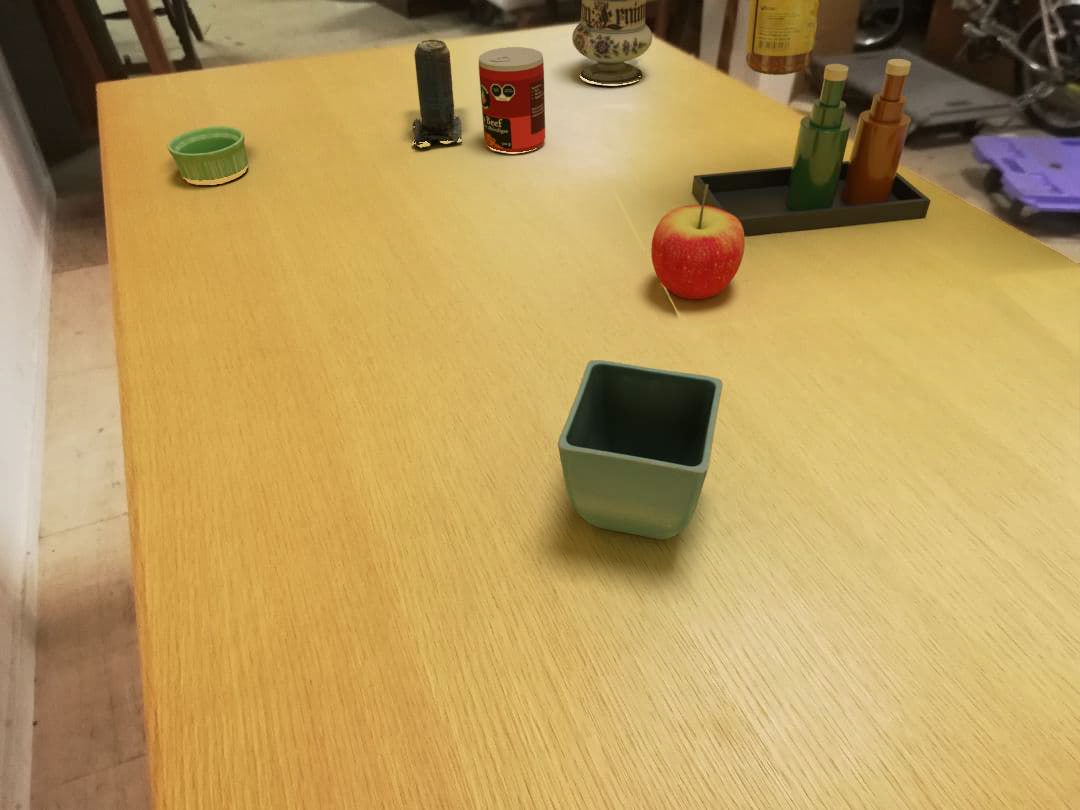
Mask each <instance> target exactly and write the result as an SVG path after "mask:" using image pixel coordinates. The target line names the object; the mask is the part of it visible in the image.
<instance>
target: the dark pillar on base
mask: <svg viewBox="0 0 1080 810" xmlns="http://www.w3.org/2000/svg"><path fill="white" fill-rule="evenodd" d="M414 65H415V73H416V74H415V75H416V83H417V84H416V85H417V93H418V94H417V95H418V102H419V103H418V104H419V112H420V113H419V115H420V118H421V119H420V118H417V117H416V118H415V119H414V121H413V122H412V127H413V126H415V129H414V139H413V140H415V141H414V143H415V142H416V145H415V144H414V145H413V146H416V147H417V145H420V144H423V143H419V142H425V141H427V142H428V143H430V142H431V141H434V140H437V139H439V140H438V144H439V143H440V141H447V140H448V141H453V143H456V142H455V141H458V139H459V138H460V139H462V136H461V135H462V120H461V116H460V115H459V114H458V115H457V116H456V115H455V101H454V90H453V75H452V63H451V51H450V50H449V47H448V46H447V44H446V42H444V41H443V40H438V39H437V40H436V39H426V40H425V39H424V40H422V41H421V43H417V44H416V47H415V49H414ZM460 129H461V131H460ZM430 139H432V140H430ZM430 144H431V145H432V142H431V143H430Z"/></svg>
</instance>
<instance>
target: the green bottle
mask: <svg viewBox="0 0 1080 810" xmlns="http://www.w3.org/2000/svg"><path fill="white" fill-rule="evenodd" d="M849 70H850V68H849V66H847V65H845V64H841V63H829V64H827V65H825V67H824V72H823V83H822V88H821V93H820V96H819V98H817V99H815V100H814V101H813V102H812V106H811V111H810V115H806V116H803V117H802V118H801V120H800V121H799V127H798V132H797V137H796V143H795V148H794V153H793V158H792V163H791V164H792V165H791V166H792V169H791V174H790V180H789V185H788V190H787V196H786V201H785V202H786V205H787V206H788V207H789V208H790V209H792V210H794V211H804V210H814V209H824V208H832V206H833V202H834V198H835V193H836V189H837V185H838V180H839V176H840V171H841V167H842V163H843V161H844V158H845V154H846V149H847V146H848V145H847V144H848V140H849V137H850V132H851V127H852V124H851V122H850V120H848V119H846V118H844V117H845V112H846V107H847V104H846V103H847V102H845V101H843V100H842V96H843V93H844V87H845V83H846V80H847V78H848V75H849Z"/></svg>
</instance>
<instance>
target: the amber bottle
mask: <svg viewBox="0 0 1080 810" xmlns="http://www.w3.org/2000/svg"><path fill="white" fill-rule="evenodd" d="M911 66H912V62H911V61H909V60H907V59H904V58H892V59H889V60H887V63H886V67H885V70H884V71H885V74H884V79H883V84H882V86H881V91H880V93H875V94H874V95H873V98H872V101H871V105H870V109H867V110H864V111H862V112H860V114H859V117H858V122H857V125H856V130H855V135H854V139H853V142H852V148H851V152H850V155H849V160H848V161H849V164H848V168H847V172H846V177H845V181H844V185H843V189H842V194H841V198H842V199H843V200H844V201H845V202H846V203H848V204H850V205H853V206H854V205H864V204H873V203H883V202H888V201H889V198H890V194H891V191H892V187H893V183H894V180H895V176H896V173H898V169H899V166H900V161H901V158H902V155H903V150H904V146H905V143H906V140H907V137H908V132H909V129H910V125H911V122H912V119H911V117H910V116H909V115H908V114H906V113H904V112H905V109H906V106H907V105H906V104H907V101H908V99H907V97H906V96H904V95H903V91H904V88H905V85H906V81H907V76H908V74H909V73H910V70H911Z"/></svg>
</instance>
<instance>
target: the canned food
mask: <svg viewBox="0 0 1080 810" xmlns="http://www.w3.org/2000/svg"><path fill="white" fill-rule="evenodd" d="M544 63H545V62H544V54H543V53H542V51H539V50H538V49H535V48H530V47H523V46H509V47H507V46H505V47H499V48H494V49H490V50H487V51H485V52H483V53H482V54H480V55H479V56H478V76H479V89H480V101H481V114H482V126H483V138H484V142H485V144H487V145H488V146H489V147H491V148H493V149H496V150H500V151H506V152H523V151H529V150H533V149H535V148H538V147H539V146H541V145H542V144H543V145H544V143H545V140H546V108H545V105H546V103H545V101H546V100H545V99H546V98H545V67H544V66H545V65H544ZM487 145H486V146H487ZM543 145H542V146H543ZM542 146H541V147H542Z"/></svg>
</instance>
